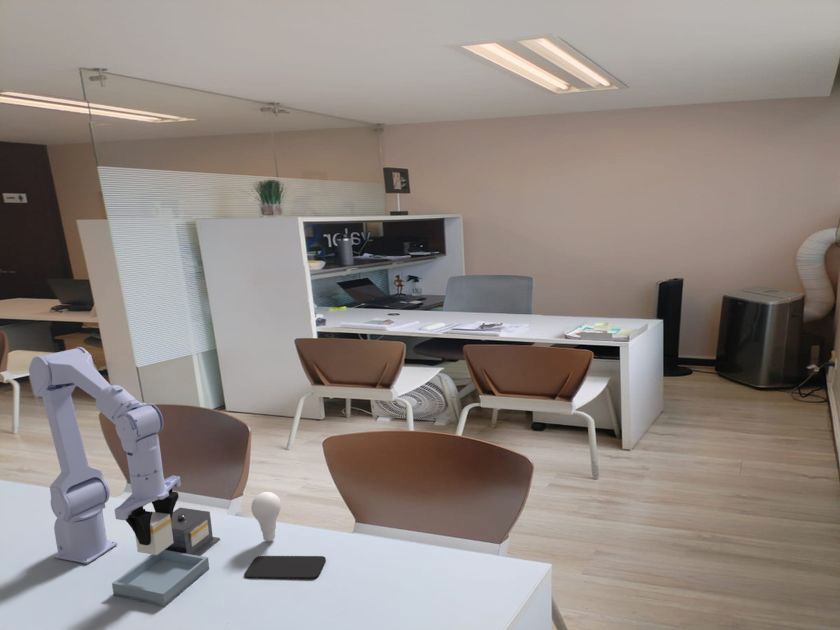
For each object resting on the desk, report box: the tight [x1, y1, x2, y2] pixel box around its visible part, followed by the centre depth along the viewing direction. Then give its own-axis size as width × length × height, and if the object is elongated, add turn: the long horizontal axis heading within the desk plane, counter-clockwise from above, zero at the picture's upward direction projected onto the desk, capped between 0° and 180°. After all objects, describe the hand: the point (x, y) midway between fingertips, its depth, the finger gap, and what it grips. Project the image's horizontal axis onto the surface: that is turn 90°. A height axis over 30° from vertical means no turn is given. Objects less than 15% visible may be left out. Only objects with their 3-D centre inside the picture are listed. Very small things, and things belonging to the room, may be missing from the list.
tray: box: [111, 550, 210, 607], centre depth 119 cm, size 12×12×2 cm
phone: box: [243, 555, 327, 581], centre depth 121 cm, size 7×1×15 cm
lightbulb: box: [251, 491, 282, 542], centre depth 131 cm, size 6×6×11 cm
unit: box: [150, 507, 221, 556], centre depth 130 cm, size 10×10×8 cm
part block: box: [134, 510, 174, 555], centre depth 117 cm, size 5×5×6 cm
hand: (155, 536), depth 117 cm, fingers closed on part block, 4 cm apart
